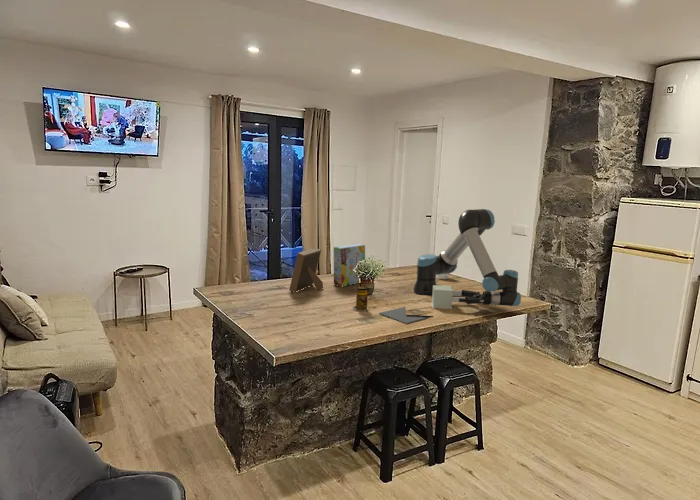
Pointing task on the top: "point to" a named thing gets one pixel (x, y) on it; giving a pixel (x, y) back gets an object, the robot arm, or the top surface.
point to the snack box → (347, 263)
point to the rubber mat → (403, 316)
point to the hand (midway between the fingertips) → (451, 296)
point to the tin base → (444, 308)
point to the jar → (443, 276)
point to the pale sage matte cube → (442, 296)
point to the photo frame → (306, 270)
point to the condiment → (361, 299)
